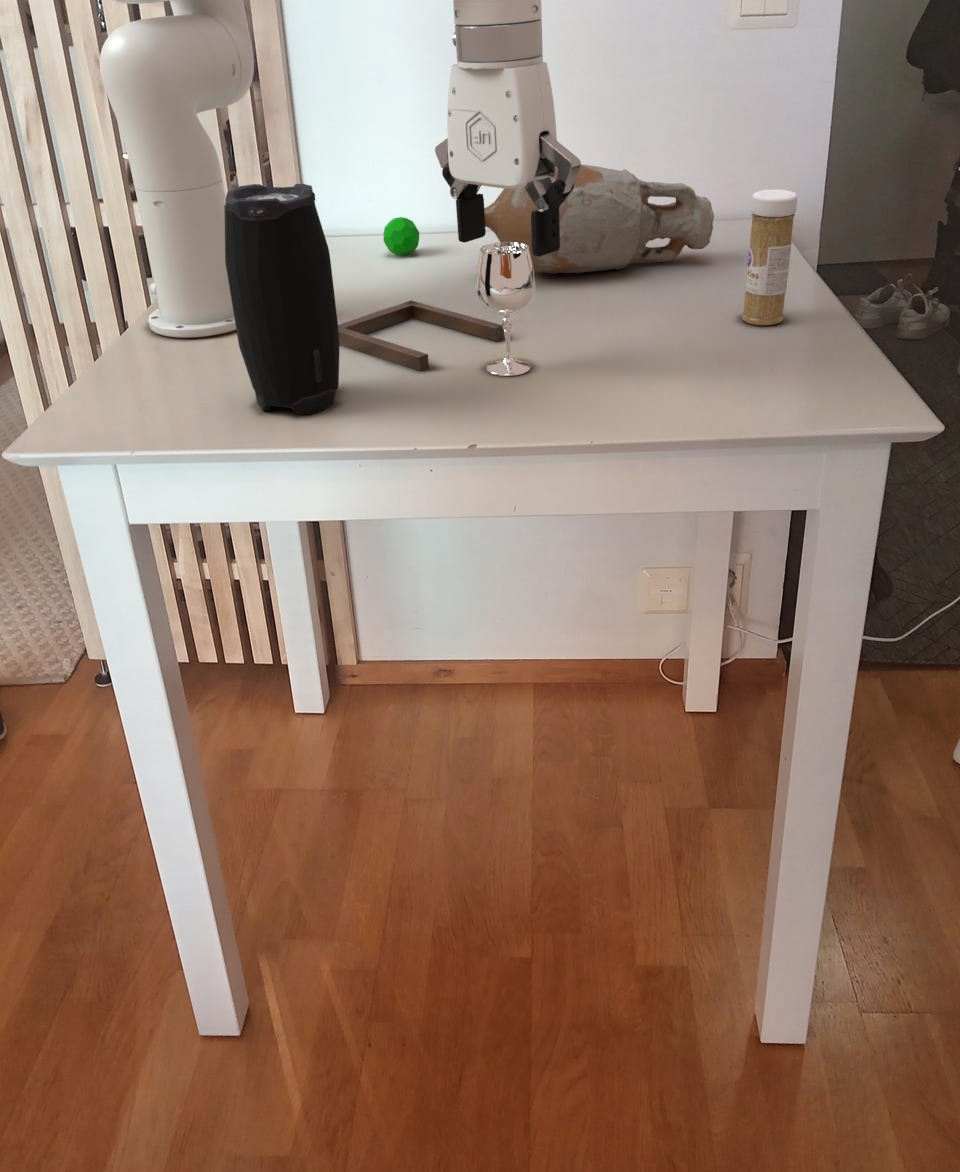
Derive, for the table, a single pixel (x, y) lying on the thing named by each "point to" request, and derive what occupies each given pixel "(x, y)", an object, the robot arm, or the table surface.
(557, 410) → the table surface
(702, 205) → the amphora
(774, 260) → the sprinkles bottle
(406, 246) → the polyhedron
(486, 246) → the wineglass
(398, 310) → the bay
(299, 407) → the portable speaker
